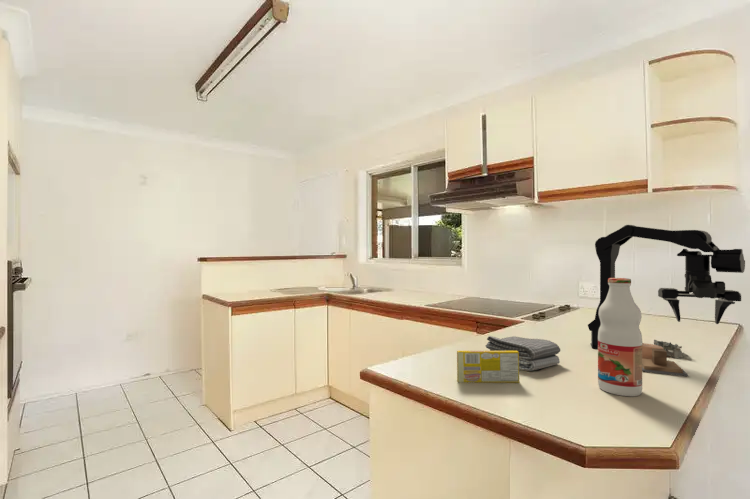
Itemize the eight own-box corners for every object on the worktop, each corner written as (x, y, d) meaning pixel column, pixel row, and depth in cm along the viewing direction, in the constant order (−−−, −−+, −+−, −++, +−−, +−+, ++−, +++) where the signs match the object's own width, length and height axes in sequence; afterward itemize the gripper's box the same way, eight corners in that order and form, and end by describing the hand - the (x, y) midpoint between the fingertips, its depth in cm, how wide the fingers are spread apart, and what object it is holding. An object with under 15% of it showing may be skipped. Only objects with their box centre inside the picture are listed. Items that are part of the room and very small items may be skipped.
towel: (533, 375, 109) (533, 347, 109) (481, 360, 124) (481, 335, 124) (561, 365, 118) (561, 340, 118) (509, 352, 133) (509, 330, 133)
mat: (640, 371, 111) (640, 369, 111) (633, 362, 121) (633, 360, 121) (688, 376, 107) (688, 374, 107) (677, 366, 116) (677, 364, 116)
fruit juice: (652, 396, 92) (652, 279, 92) (615, 398, 91) (615, 279, 92) (623, 383, 102) (623, 277, 102) (589, 384, 101) (589, 277, 101)
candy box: (517, 380, 104) (517, 350, 104) (519, 383, 102) (519, 352, 102) (456, 380, 104) (456, 349, 104) (458, 382, 102) (458, 351, 102)
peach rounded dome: (635, 360, 123) (635, 347, 123) (630, 354, 130) (630, 342, 130) (666, 363, 120) (666, 350, 120) (659, 356, 127) (659, 344, 127)
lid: (644, 369, 112) (644, 351, 112) (637, 361, 120) (637, 345, 120) (682, 373, 108) (682, 355, 108) (673, 364, 116) (673, 348, 116)
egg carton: (682, 359, 125) (682, 347, 125) (654, 356, 129) (654, 343, 129) (680, 352, 134) (680, 340, 134) (653, 349, 138) (653, 337, 138)
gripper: (667, 272, 114) (667, 325, 114) (750, 273, 106) (750, 330, 106) (657, 270, 124) (657, 318, 124) (732, 271, 116) (733, 323, 116)
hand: (697, 322), depth 117 cm, fingers open, 9 cm apart
